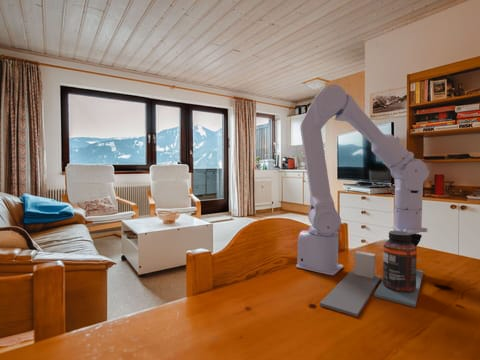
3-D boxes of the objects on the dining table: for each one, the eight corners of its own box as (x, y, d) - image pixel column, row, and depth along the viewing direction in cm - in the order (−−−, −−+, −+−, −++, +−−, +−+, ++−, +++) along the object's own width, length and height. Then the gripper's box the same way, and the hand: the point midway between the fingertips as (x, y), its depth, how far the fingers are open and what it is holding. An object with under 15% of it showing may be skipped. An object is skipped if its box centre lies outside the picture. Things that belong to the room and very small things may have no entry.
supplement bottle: (413, 284, 58) (415, 231, 58) (418, 295, 53) (420, 237, 53) (381, 279, 61) (383, 228, 60) (383, 289, 55) (384, 233, 55)
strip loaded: (373, 296, 54) (374, 268, 53) (391, 267, 70) (391, 245, 70) (415, 307, 49) (416, 276, 49) (423, 273, 66) (423, 250, 66)
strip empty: (319, 305, 50) (320, 275, 49) (351, 272, 67) (352, 249, 66) (357, 317, 46) (358, 284, 46) (381, 278, 63) (381, 254, 63)
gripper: (426, 213, 58) (424, 277, 59) (429, 207, 70) (427, 260, 71) (388, 210, 63) (387, 269, 63) (397, 204, 74) (396, 254, 75)
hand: (406, 264), depth 67 cm, fingers closed on strip loaded, 2 cm apart
